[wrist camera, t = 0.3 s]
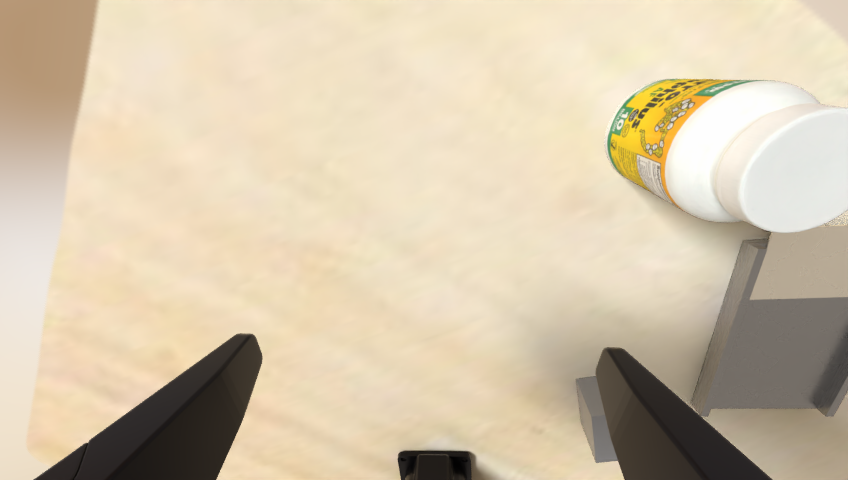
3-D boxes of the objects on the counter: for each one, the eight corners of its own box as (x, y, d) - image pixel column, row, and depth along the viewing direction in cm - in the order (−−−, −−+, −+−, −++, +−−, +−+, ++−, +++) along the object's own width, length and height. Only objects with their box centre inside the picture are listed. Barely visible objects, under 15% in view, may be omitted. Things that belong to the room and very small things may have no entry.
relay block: (631, 415, 29) (653, 457, 26) (580, 421, 30) (596, 462, 27) (629, 369, 27) (653, 409, 24) (575, 377, 28) (591, 416, 25)
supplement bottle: (623, 195, 21) (741, 279, 13) (585, 117, 20) (691, 153, 11) (718, 144, 20) (926, 200, 11) (686, 54, 18) (901, 39, 10)
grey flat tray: (817, 402, 27) (833, 416, 26) (691, 403, 28) (700, 416, 27) (915, 217, 21) (940, 225, 20) (748, 225, 22) (763, 233, 21)
